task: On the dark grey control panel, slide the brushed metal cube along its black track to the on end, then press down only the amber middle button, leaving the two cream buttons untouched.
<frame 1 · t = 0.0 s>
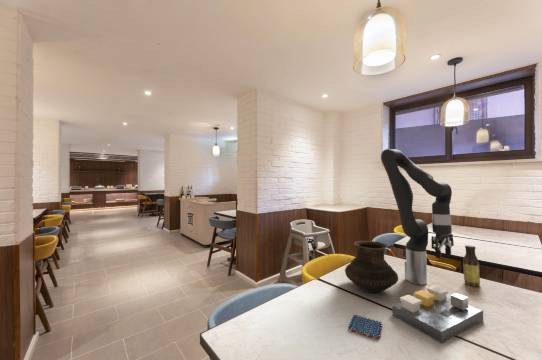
hand: (443, 256, 111), 17 cm above the table, tool pointing down, fingers open, 8 cm apart
button left: (410, 305, 90), point 5 cm above the table, slide at 0.0 cm
sauce bottle: (471, 284, 118), on the table
woven mat: (365, 330, 84), on the table
panel: (436, 317, 90), on the table
brushed metal cube: (459, 301, 90), point 7 cm above the table, slide at 0.0 cm
ceramic pot: (370, 289, 114), on the table
button right: (437, 295, 98), point 5 cm above the table, slide at 0.0 cm
button mid: (424, 300, 94), point 5 cm above the table, slide at 0.0 cm
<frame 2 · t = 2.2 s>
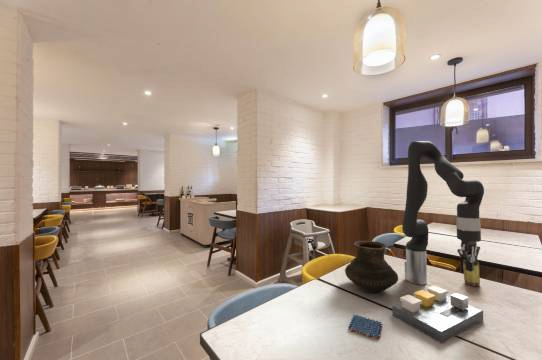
hand: (469, 270, 93), 17 cm above the table, tool pointing down, fingers closed
nothing on the table moved.
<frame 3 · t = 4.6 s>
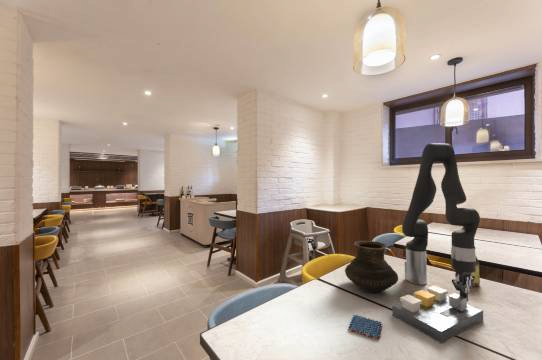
hand: (463, 300, 91), 6 cm above the table, tool pointing down, fingers closed
brushed metal cube: (457, 301, 89), point 7 cm above the table, slide at 1.1 cm, touching gripper
everything else where it was.
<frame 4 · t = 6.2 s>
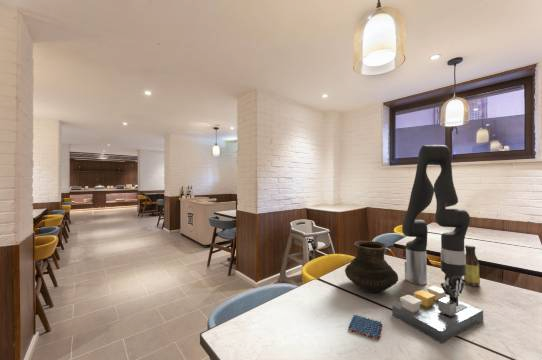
hand: (453, 305, 87), 6 cm above the table, tool pointing down, fingers closed
brushed metal cube: (447, 306, 86), point 7 cm above the table, slide at 8.4 cm, touching gripper
everything else where it was.
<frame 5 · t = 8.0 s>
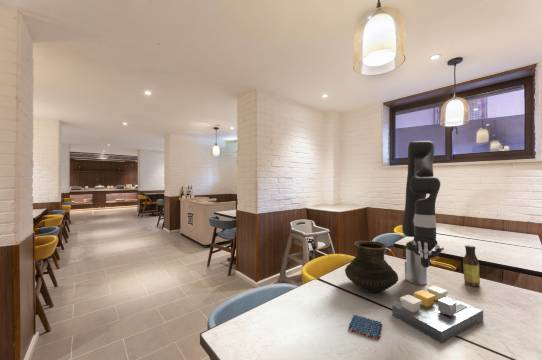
hand: (425, 266, 94), 19 cm above the table, tool pointing down, fingers closed
brushed metal cube: (447, 306, 86), point 7 cm above the table, slide at 8.5 cm
everything else where it was.
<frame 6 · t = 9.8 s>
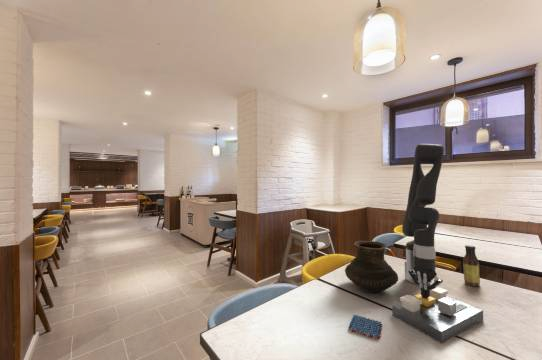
hand: (425, 297, 94), 6 cm above the table, tool pointing down, fingers closed
button mid: (424, 303, 94), point 3 cm above the table, slide at 1.4 cm, touching gripper
everything else where it was.
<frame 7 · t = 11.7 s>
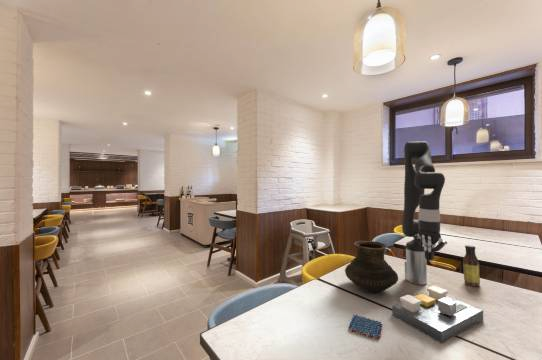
hand: (429, 259, 96), 21 cm above the table, tool pointing down, fingers closed
button mid: (424, 304, 94), point 3 cm above the table, slide at 1.6 cm
everything else where it was.
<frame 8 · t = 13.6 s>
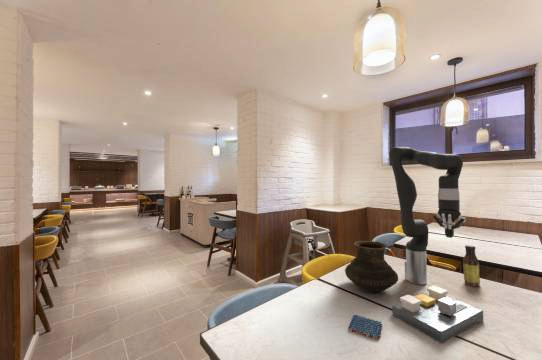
hand: (449, 237, 101), 29 cm above the table, tool pointing down, fingers closed
nothing on the table moved.
at the end: brushed metal cube slide at 8.5 cm; button mid slide at 1.6 cm; button right slide at 0.0 cm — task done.
